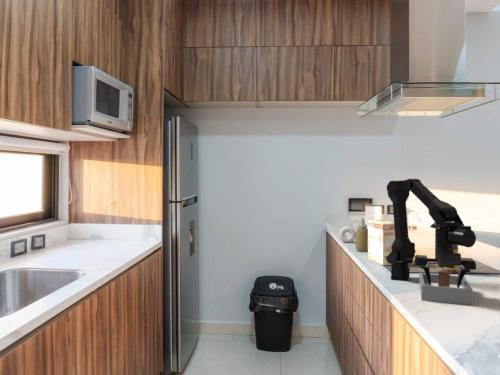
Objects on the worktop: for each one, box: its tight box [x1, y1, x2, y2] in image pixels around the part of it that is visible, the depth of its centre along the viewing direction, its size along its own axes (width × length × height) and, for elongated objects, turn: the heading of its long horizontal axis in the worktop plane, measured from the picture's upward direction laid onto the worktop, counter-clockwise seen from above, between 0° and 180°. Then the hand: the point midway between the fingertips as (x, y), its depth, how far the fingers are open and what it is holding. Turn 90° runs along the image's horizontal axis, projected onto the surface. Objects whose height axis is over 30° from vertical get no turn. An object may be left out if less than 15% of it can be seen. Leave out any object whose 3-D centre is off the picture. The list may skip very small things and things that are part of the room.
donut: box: [338, 226, 356, 244], centre depth 235 cm, size 10×3×10 cm, turn 75°
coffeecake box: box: [367, 219, 395, 266], centre depth 184 cm, size 15×7×20 cm, turn 9°
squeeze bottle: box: [354, 217, 368, 253], centre depth 210 cm, size 8×8×18 cm
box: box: [418, 272, 474, 306], centre depth 134 cm, size 15×17×5 cm
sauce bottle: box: [441, 244, 459, 274], centre depth 164 cm, size 6×6×20 cm
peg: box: [438, 270, 451, 287], centre depth 134 cm, size 4×4×8 cm
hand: (443, 286), depth 134 cm, fingers open, 8 cm apart
